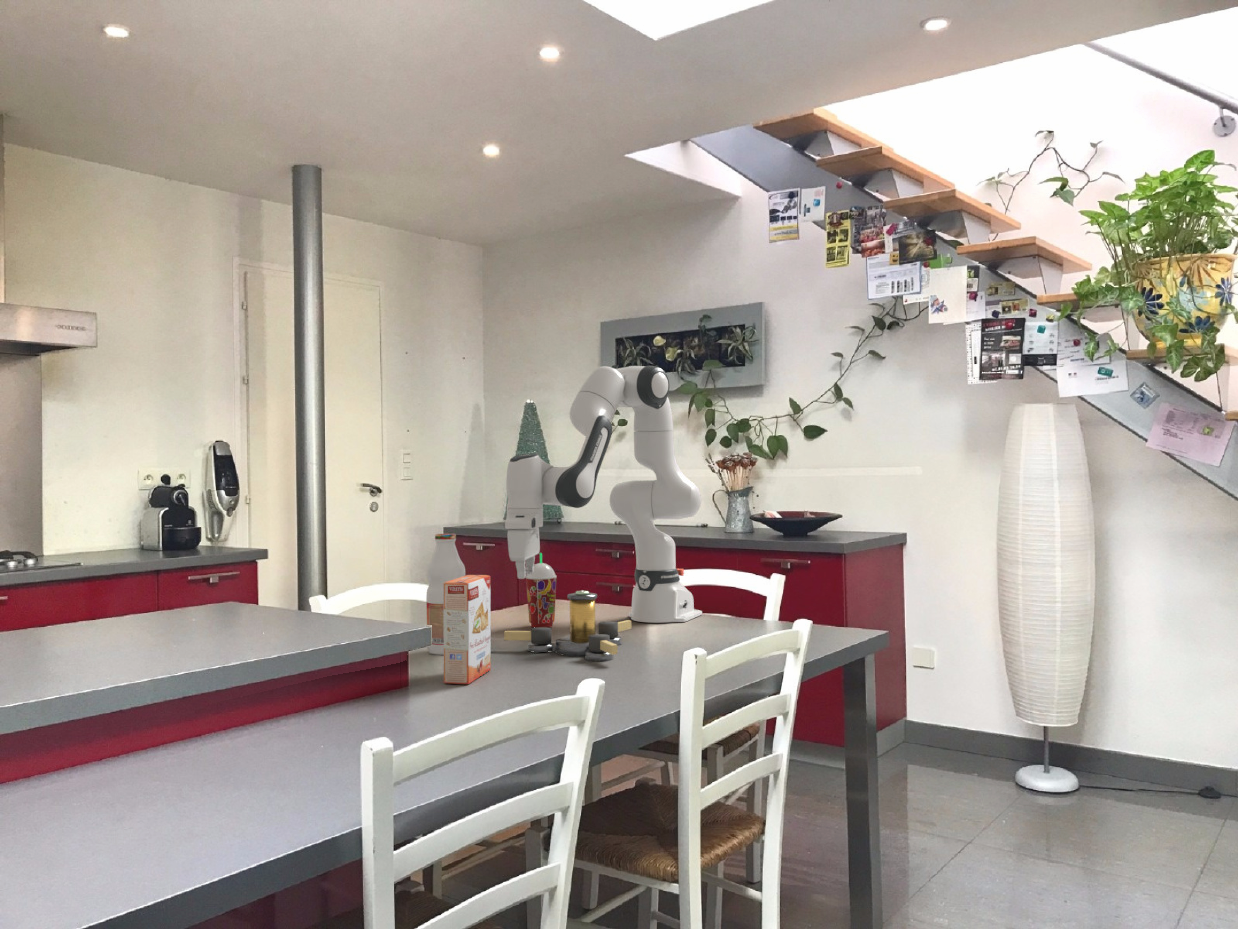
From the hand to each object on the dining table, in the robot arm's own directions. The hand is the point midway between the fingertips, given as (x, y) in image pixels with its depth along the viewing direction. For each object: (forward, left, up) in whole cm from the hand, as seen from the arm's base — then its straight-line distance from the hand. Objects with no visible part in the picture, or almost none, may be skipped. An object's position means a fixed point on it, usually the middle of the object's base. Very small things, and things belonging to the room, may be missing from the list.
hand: (525, 576), depth 242 cm
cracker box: (+33, +13, -17) cm, 40 cm away
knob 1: (+5, +5, -15) cm, 17 cm away
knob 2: (+5, +28, -15) cm, 32 cm away
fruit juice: (+16, -11, -17) cm, 26 cm away
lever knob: (-15, +16, -15) cm, 27 cm away
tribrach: (-4, +16, -17) cm, 24 cm away
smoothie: (-22, -14, -17) cm, 31 cm away
